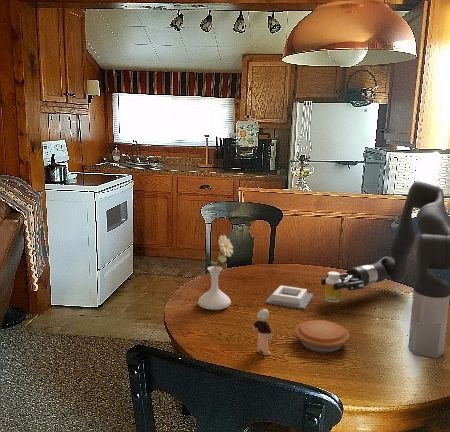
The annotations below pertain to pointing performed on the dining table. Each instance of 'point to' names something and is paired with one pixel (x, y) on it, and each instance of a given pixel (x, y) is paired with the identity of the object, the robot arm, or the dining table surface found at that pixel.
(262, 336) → the grandmother figurine
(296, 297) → the socket plate
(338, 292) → the supplement bottle
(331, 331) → the pie
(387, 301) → the dining table surface
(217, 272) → the flower in vase
